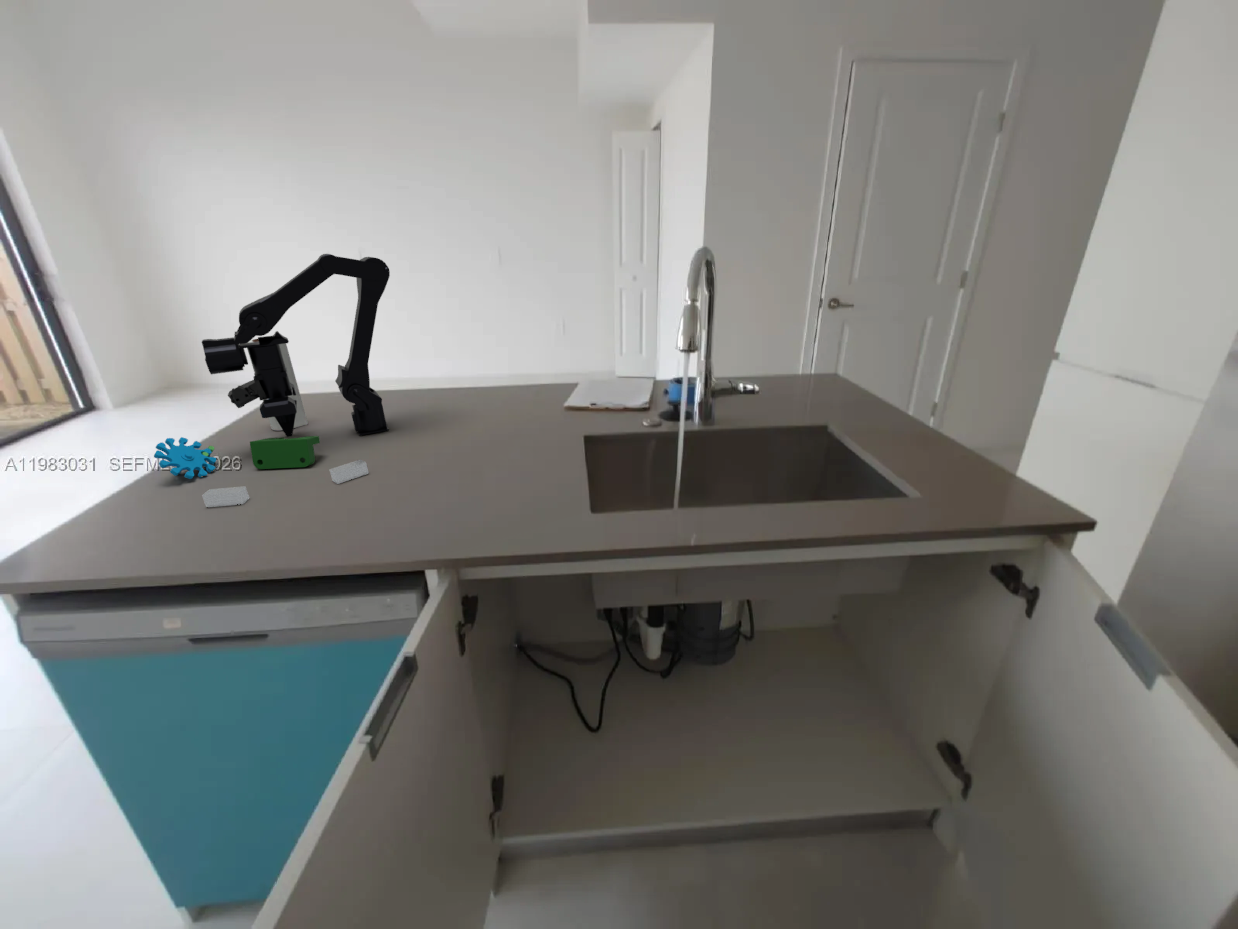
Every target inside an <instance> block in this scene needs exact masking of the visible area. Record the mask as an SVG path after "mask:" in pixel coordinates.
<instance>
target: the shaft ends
mask: <svg viewBox="0 0 1238 929" xmlns="http://www.w3.org/2000/svg"><path fill="white" fill-rule="evenodd" d="M368 468H369V467H368V464H367V462H366V461H365V460H362V459H357V460H354V461H351V462H348V463H345V464H341V465H338V466H335V467H332V468H329V469H328V470H329V473H330V476H331V480H332V482H333V483H335V484H336V485H339V484H342V483H345V482H348V481H350V480H351V479H352V480H354V479H356V478H360V477H364V476H366V475H368V474H369V469H368ZM201 497H202V500H203V502H204V505H205V508H206V507H208V508H218V507H228V506H229V507H230V506H239V505H240V504H241V505H245V504H246V502H247V501H248V500H250V495H249V492H248V490H247V486H245V485H244V486H235V487H234V486H232V487H222V488H219V487H218V488H210V489H208V490H207V491H205V492H204V493H203V494H201ZM237 504H238V505H237Z"/></svg>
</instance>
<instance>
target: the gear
mask: <svg viewBox="0 0 1238 929" xmlns="http://www.w3.org/2000/svg"><path fill="white" fill-rule="evenodd" d="M175 441H176V440H175V438H173V437H169V438H168V437H167V438H166V439H165V440H164V442H163V441H162V442H158V443H157V444H156V446H155V449H157V450H156V452H155V453H154V455H153V458H155V459H160V461H159V463H158V465H159V467H160V468H162V469H164V468H168V467H172V468H171V469H170V471H169V473H170V474H171V475H172V476H175V477H176V476H179V475H180V474H181V473H182V471H186V472H185V474H184V478H186V479H189V480H192V479H193V478H194V477H195V473H194V471H195V470H196V471H198V474H197V477H199V478H202V477H201V476H206V477H207V475H208V473H212V472H214V471H215V469H216V468H217V467H216V466H215V463H216V462H217V458H216V457H214V456H211V454H212V453H213V452H214V450H215V447H214V445H209V446H208V447H206V448H204V449H200V448H201V447H202V443H201V442H199V441H198V440H195V441H194V442H193V443H192V444H190V445H186V444H188V441H189V439H188V438H186V437H182V436H181V437H180V438H179V439H178V443H179V445H175V444H174V443H175ZM166 445H168V447H169V448H167V446H166ZM203 467H205V469H206V470H205V469H204V468H203ZM213 470H214V471H213ZM211 471H212V472H211ZM178 474H179V475H178Z"/></svg>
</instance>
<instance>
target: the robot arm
mask: <svg viewBox="0 0 1238 929" xmlns="http://www.w3.org/2000/svg"><path fill="white" fill-rule="evenodd" d="M334 275H339V276H345V277H352V278H356V289H357V303H356V310H355V315H354V316H355V317H354V322H353V329H352V334H351V342H350V348H349V353H348V354H349V355H348V358H347V361H346V363H345V364H344V365H341V364H338V365H337V378H336V379H335V383H336V385H337V387H338V390H339V392H340V393H341V396H342V397H343V398H344V399H345V401H347V402H349V403H350V404H352V405H351V407H352V411H351V413H350V414H351V415H350V416H351V420H352V423H353V428H354V431H355V432H357V433H358V436H366V435H373V434H377V433H378V434H379V433H382V432H388V431H389V430H390V429H389V427H388V424H387V421H386V416H385V411H384V408H383V398H382V397H381V396H380V394H379V393H378V392H377V391H376V390H375V389H373V388H372V387H371V386H370V385H371V384H370V373H369V370H370V369H369V360H370V354H371V348H372V341H373V336H374V329H375V323H376V317H377V312H378V307H379V302H380V300H381V298H382V296H383V294H384V292H385V290H386V287H387V285H388V282H389V279H390V276H391V275H390V268H389V266H388V265H387V264H386V262H385V261H383V259H380V258H378V257H373V256H364V257H362V258H361V259H354V258H349V257H344V256H343V257H342V256H336V255H333V254H331V253H323V254H321V255H320V256H318V258H317V259H316V260H315V261H314V262H312V263H311V264H310V265H308V266H307V267H306V268H304V269H303V270H302V271H300V272H299V273H298V274H296V275H295V276H294V277H292V278H291V279H290V280H288V281H287V282H286V283H285V284H284V285H282V286H281V287H279V288H278V289H277V290H275V291H274V292H272V293H270V294H268V295H266V296H263V297H261V298H258V299H256V300H254V301H251V302H250V303H248V304H246V305H244V306H242V308H241V309H240V310H239V313H238V323H239V327H238V328H237V330H236V331H234V336H233V337H225V338H217V339H216V338H213V339H212V338H206V339H202V340H201V344H202V347H203V348H202V349H203V352H204V353H203V354H204V357H205V358H204V361H205V364H206V366H207V369H208V372H209V373H210V375H217V374H224V373H233V372H241V371H244V368H245V366H247V365H249V362H248V358H247V354H246V351H245V349H247V348H248V350H247V352H249V353H248V355H250V356H249V359H250V358H251V360H250V362H251V361H252V363H251V366H252V365H253V366H252V368H254V369H253V372H254V371H255V373H253V374H254V375H253V376H252V377H253V379H252V380H250V381H247V382H245V383H243V384H241V385H237V387H235V388H231V390H230V391H229V392H228V393H227V396H228V398H229V399H230V402H231V404H234V405H235V406H236V408H238V409H241V408H243V407H245V405H247V404H249V403H251V402H253V401H255V400H257V399H259V401H262V402H261V404H260V405H259V412H260V416H261V418H262V419H268V418H270V417H275V418H276V420H277V421H278V423H279V425H280V426H281V428H282V430H281V431H283V433H284V435H285V436H286V437H287V438H290V437H292V436H293V434H294V429H295V428H294V422H295V416H296V413H297V401H296V400H293V399H292V398H290V397H288V396H291V395H293V396H294V395H296V390H295V387H294V385H293V384H292V383H290V381H289V378H288V372H287V368H286V367H285V363H284V360H283V356H282V352H281V349H280V345H279V344H285V343H286V344H289V342H290V341H289V338H288V337H286V336H284V335H282V334H281V333H280V332H279V331H278V330H276V331H275V332H274V334H273V335H267V334H269V333H270V332H271V331H272V330H273V329H274V327H275V326H276V325H277V324H278V323H279V322H280V321H281V319H282V318H283V317H284V316H285V314H286V313H287V311H288V310H289V309H290V308H291V307H292V306H294V305H296V303H298V302H299V301H300V300H302V299H303V298H304V297H306V296H308V294H309V293H311V292H313V290H315V289H317V287H319V286H320V285H322V284H323V283H324V282H325V281H327V280H328V279H329V278H330V277H332V276H334ZM265 335H266V336H265ZM255 337H257V339H258V340H259V341H257V342H251V343H248V342H249V341H250V340H253V339H255ZM263 400H264V401H263Z"/></svg>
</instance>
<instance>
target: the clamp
mask: <svg viewBox="0 0 1238 929" xmlns="http://www.w3.org/2000/svg"><path fill="white" fill-rule="evenodd" d="M320 441H321V440H320V436H319V435H311V436H310V435H309V436H301V437H295V438H294V437H293V438H292V437H291V438H284V437H269V438H261V439H258V440H257V439H256V440H253V441H249V445H250V452H251V453H250V454H251V460H252V465H253V466H254V468H256V469H258V470H265V469H266V470H267V469H268V470H269V469H270V470H271V469H273V470H274V469H290V468H291V469H293V468H306V467H308V466H309V467H310V466H311V465H313V464H315V461H316V456H315V451H314V445H317V444H320Z"/></svg>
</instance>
